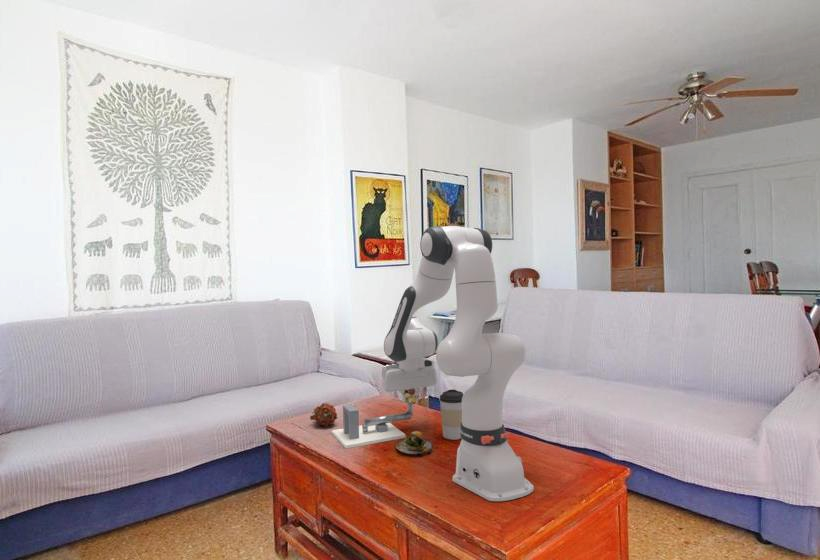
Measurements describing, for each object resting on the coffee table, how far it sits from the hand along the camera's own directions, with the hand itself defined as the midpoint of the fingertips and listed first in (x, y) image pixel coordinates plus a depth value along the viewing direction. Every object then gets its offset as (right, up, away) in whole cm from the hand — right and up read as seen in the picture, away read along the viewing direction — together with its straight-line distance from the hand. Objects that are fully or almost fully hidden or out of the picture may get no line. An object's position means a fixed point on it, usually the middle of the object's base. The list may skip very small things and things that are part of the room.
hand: (409, 401), depth 174 cm
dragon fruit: (-31, -10, +6) cm, 34 cm away
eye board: (-14, -10, -6) cm, 19 cm away
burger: (+1, -11, -20) cm, 23 cm away
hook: (-7, -8, -3) cm, 12 cm away
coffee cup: (+15, -10, -8) cm, 20 cm away
